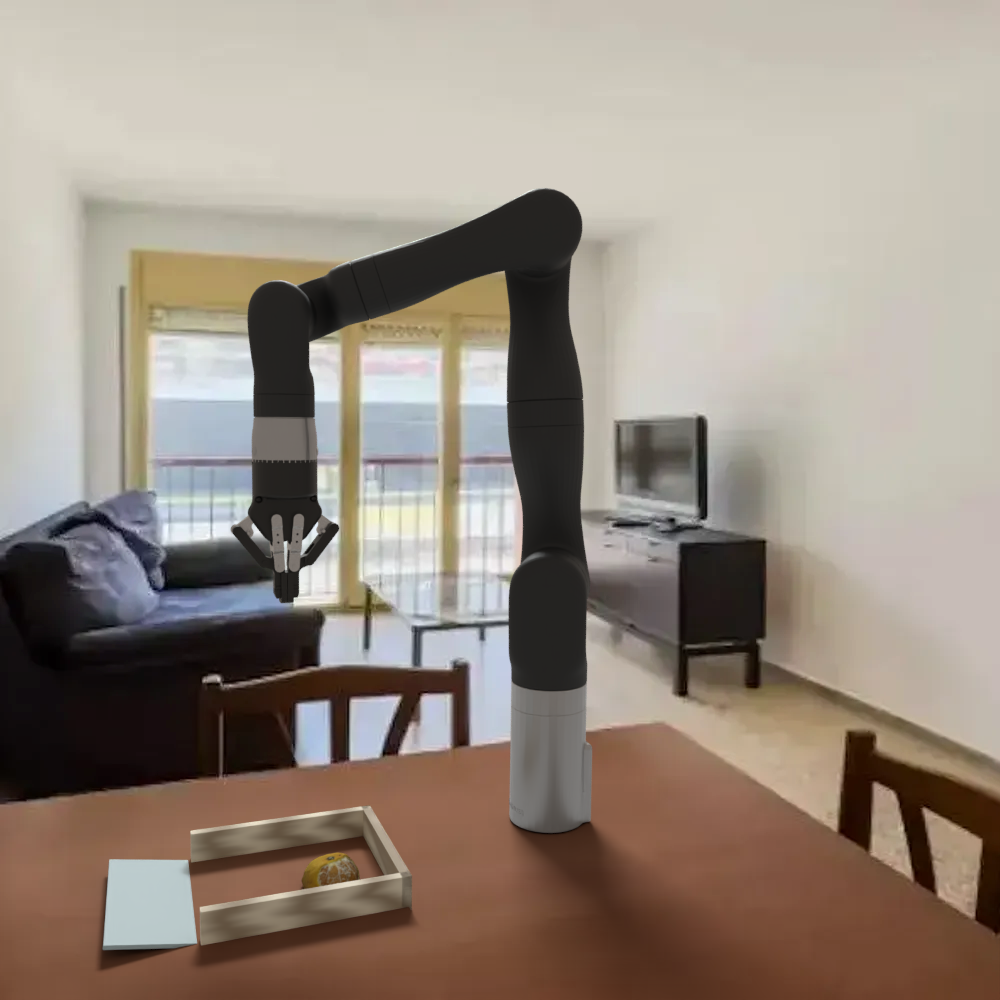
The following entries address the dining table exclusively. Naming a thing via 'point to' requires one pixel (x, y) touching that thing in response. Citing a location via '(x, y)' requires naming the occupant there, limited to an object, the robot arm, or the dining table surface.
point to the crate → (304, 903)
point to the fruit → (330, 870)
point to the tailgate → (148, 905)
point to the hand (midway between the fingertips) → (286, 601)
